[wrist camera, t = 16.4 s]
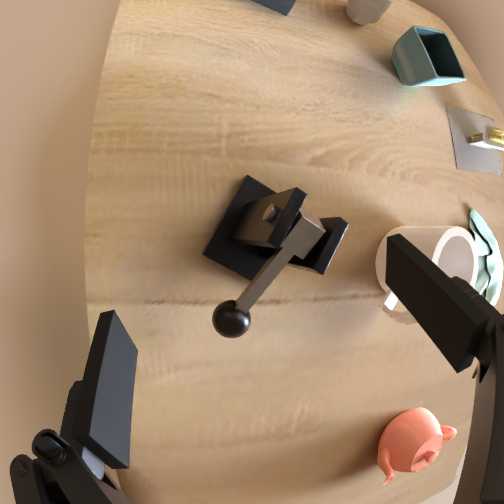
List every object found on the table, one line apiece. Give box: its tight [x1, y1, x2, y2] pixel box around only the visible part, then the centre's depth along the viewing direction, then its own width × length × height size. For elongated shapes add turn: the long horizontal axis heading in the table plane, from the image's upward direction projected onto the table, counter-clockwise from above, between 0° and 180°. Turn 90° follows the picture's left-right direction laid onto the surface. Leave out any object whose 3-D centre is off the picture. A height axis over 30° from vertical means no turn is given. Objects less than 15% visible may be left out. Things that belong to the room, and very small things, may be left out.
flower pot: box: [391, 26, 466, 86], centre depth 38 cm, size 9×9×9 cm
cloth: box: [469, 208, 503, 305], centre depth 47 cm, size 20×22×2 cm
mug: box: [375, 226, 478, 324], centre depth 38 cm, size 14×10×11 cm
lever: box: [212, 207, 325, 338], centre depth 26 cm, size 13×3×3 cm, turn 150°
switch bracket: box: [202, 175, 349, 281], centre depth 30 cm, size 10×8×15 cm
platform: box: [446, 105, 504, 175], centre depth 45 cm, size 12×18×6 cm, turn 96°
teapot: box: [377, 408, 456, 485], centre depth 41 cm, size 12×18×10 cm
